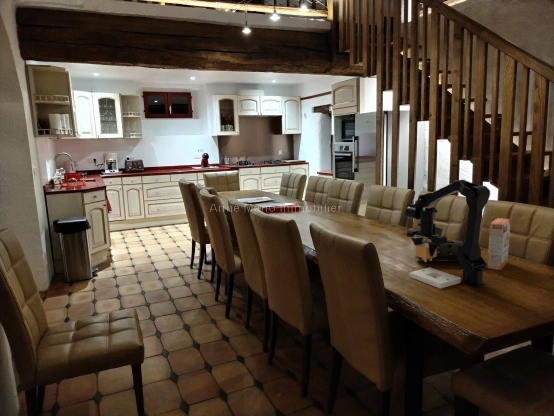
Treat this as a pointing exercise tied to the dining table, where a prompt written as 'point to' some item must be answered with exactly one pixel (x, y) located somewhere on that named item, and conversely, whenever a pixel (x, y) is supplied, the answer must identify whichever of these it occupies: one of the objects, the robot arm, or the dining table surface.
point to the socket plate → (439, 281)
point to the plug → (424, 252)
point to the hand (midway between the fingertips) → (425, 254)
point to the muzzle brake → (445, 251)
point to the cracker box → (498, 243)
